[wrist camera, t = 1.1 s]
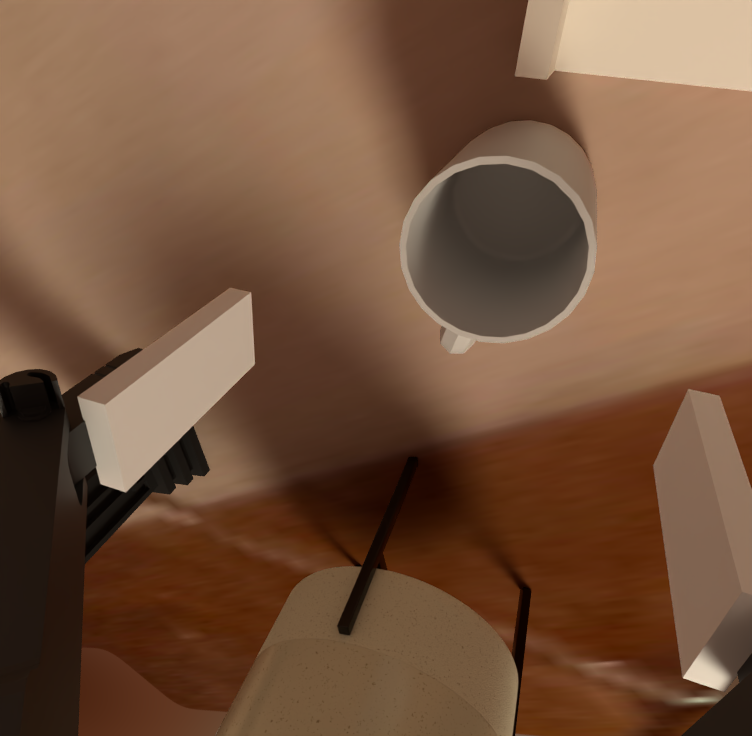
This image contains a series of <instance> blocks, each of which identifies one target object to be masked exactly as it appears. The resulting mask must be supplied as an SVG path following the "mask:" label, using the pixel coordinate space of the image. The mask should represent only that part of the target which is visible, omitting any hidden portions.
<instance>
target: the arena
mask: <svg viewBox="0 0 752 736" xmlns="http://www.w3.org/2000/svg"><path fill="white" fill-rule="evenodd" d="M554 71H563V72H572V73H582V74H591V75H601V76H610V77H620V78H629V79H639V80H648V81H658V82H667V83H677V84H686V85H696V86H705V87H715V88H724V89H734V90H743V91H752V0H528V6H527V11H526V16H525V22H524V27H523V33H522V38H521V44H520V49H519V55H518V60H517V66H516V71H515V76H517V77H526V78H535V79H545V80H547V79H548V78H549V77H550V75H551V74H552V73H553V72H554Z"/></svg>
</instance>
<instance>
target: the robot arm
mask: <svg viewBox="0 0 752 736" xmlns="http://www.w3.org/2000/svg"><path fill="white" fill-rule="evenodd" d="M254 365H255V355H254V336H253V317H252V298H251V292H248V291H244V290H239V289H235V288H229V289H227V290H226V291H225V292H223V293H222V294H220V295H219V296H218V297H216V298H215V299H213V300H212V301H211V302H209V303H208V304H206V305H205V306H204V307H202V308H201V309H199V310H198V311H197V312H195V313H194V314H192V315H191V316H190V317H188V318H187V319H185V320H184V321H183V322H181V323H180V324H178V325H177V326H176V327H174V328H173V329H171V330H170V331H168V332H167V333H166V334H164V335H163V336H161V337H160V338H159V339H157V340H156V341H154V342H153V343H152V344H150V345H149V346H147V347H146V348H145V349H140V348H137V349H134V350H132V351H129V352H126V353H124V354H121V355H119V356H117V357H116V358H115V359H113V360H112V361H110V362H109V363H107V364H106V366H105V367H104V366H103V367H102V368H100V369H99V370H97V371H96V372H95V374H91V375H90V376H88V377H87V378H86V379H84V380H83V381H81V382H80V383H78V384H77V385H75V386H74V387H73V388H71V389H70V390H68V391H67V392H65V393H64V394H62V395H61V392H60V388H59V385H58V381H57V378H56V375H55V374H53V373H52V372H50V371H47V370H42V369H32V370H24V371H20V372H15V373H13V374H11V375H8V376H6V377H4V378H2V379H1V380H0V412H1V413H0V736H78V724H79V697H80V672H81V646H82V620H83V594H84V568H85V542H86V516H87V490H88V486H87V482H86V479H85V476H86V475H87V474H88V473H89V472H91V471H92V470H93V469H94V468H95V467H96V469H97V473H98V477H99V480H100V484H102V485H105V486H108V487H111V488H114V489H117V490H120V491H123V492H127V491H128V490H129V489H130V488H131V487H132V486H133V485H134V484H135V483H136V482H137V481H138V480H139V479H140V478H141V477H142V476H143V475H144V474H145V473H146V472H147V471H148V470H149V469H150V468H151V467H152V466H153V465H154V464H155V463H156V462H157V461H158V460H159V459H160V458H161V457H162V456H163V455H164V454H165V453H166V452H167V451H168V450H169V449H170V448H171V447H172V446H173V445H174V444H175V443H176V442H177V441H178V440H179V439H180V438H181V437H182V436H183V435H184V434H185V433H186V432H187V431H188V430H189V429H190V428H191V427H192V426H193V425H194V424H195V423H196V422H197V421H198V420H199V419H200V418H201V417H202V416H203V415H204V414H205V413H206V412H207V411H208V410H209V409H210V408H211V407H212V406H213V405H214V404H215V403H216V402H217V401H218V400H219V399H220V398H221V397H222V396H223V395H224V394H225V393H226V392H227V391H228V390H229V389H231V388H232V387H233V386H234V385H235V384H236V383H237V382H238V381H239V380H240V379H241V378H242V377H243V376H244V375H245V374H246V373H247V372H248V371H249V370H250V369H251V368H252V367H253V366H254ZM653 466H654V473H655V481H656V488H657V495H658V502H659V510H660V517H661V524H662V531H663V539H664V546H665V553H666V560H667V568H668V575H669V582H670V589H671V597H672V604H673V611H674V619H675V626H676V633H677V640H678V648H679V655H680V662H681V669H682V677H683V678H684V679H687V680H690V681H693V682H696V683H699V684H702V685H705V686H708V687H711V688H714V689H717V690H720V691H724V692H725V691H726V690H727V688H728V687H729V686H730V685H731V683H732V682H733V681H734V679H735V678H736V677H737V676H738V679H739V684H738V685H737V686H736V687H734V688H733V689H732V690H731V691H730V692H729V693H728V694H727V695H726V696H725V697H723V698H722V699H721V700H720V701H719V702H718V703H717V704H716V705H715V706H713V707H712V708H711V709H710V710H709V711H708V712H707V713H706V714H705V715H704V716H702V717H701V718H700V719H699V720H698V721H697V722H696V723H695V724H694V725H693V726H691V727H690V728H689V729H688V730H687V731H686V732H685V733H684V734H683V735H681V736H752V489H751V486H750V483H749V480H748V477H747V474H746V472H745V469H744V466H743V463H742V460H741V457H740V454H739V451H738V448H737V445H736V442H735V440H734V437H733V434H732V431H731V428H730V425H729V422H728V419H727V416H726V413H725V410H724V408H723V405H722V402H721V399H720V396H718V395H713V394H708V393H704V392H699V391H695V390H690V389H688V391H687V393H686V396H685V398H684V400H683V402H682V404H681V406H680V409H679V411H678V413H677V415H676V417H675V420H674V422H673V424H672V426H671V428H670V430H669V433H668V435H667V437H666V439H665V441H664V444H663V446H662V448H661V450H660V452H659V454H658V457H657V459H656V461H655V463H654V465H653Z"/></svg>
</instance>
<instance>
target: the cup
mask: <svg viewBox="0 0 752 736" xmlns="http://www.w3.org/2000/svg"><path fill="white" fill-rule="evenodd" d="M399 246H400V258H401V268H402V271H403V274H404V277H405V280H406V283H407V285H408V288H409V290H410V292H411V293H412V295H413V296H414V298H415V299H416V301H417V302H418V304H419V305H420V307H421V308H422V309H423V310H424V311H425V312H426V313H427V314H428V315H429V316H430V317H431V318H432V319H434V320H435V321H436V322H437V323H438V324H439V325H441V326H442V327H441V330H440V344H441V345H442V346H443V347H444V348H445V349H446V350H447V351H448V352H449V353H465V352H466V351H467V350H468V349H469V348H470V347H471V346H472V345H473V344H474V343H475V341H480V342H492V343H508V342H514V341H520V340H526V339H529V338H532V337H534V336H536V335H539V334H541V333H543V332H546V331H548V330H550V329H552V328H553V327H554V326H555V325H557V324H558V323H559V322H561V321H562V320H563V319H565V318H566V317H567V316H569V315H570V313H571V312H572V311H573V310H574V308H575V307H576V306H577V304H578V303H579V302H580V301H581V299H582V298H583V297H584V295H585V293H586V291H587V288H588V286H589V283H590V281H591V279H592V276H593V274H594V270H595V260H596V250H597V189H596V184H595V178H594V173H593V169H592V166H591V164H590V162H589V160H588V158H587V156H586V154H585V152H584V150H583V149H582V148H581V147H580V146H579V145H578V144H577V143H576V141H575V140H574V139H573V138H572V137H571V136H570V135H569V134H567V133H565V132H563V131H562V130H560V129H558V128H556V127H554V126H553V125H551V124H546V123H542V122H537V121H532V120H524V121H510V122H507V123H504V124H501V125H498V126H495V127H492V128H490V129H488V130H486V131H485V132H484V133H482V134H481V135H479V136H478V137H476V138H475V139H473V140H472V141H470V142H469V143H468V144H467V145H466V146H465V147H464V148H463V149H462V150H461V151H460V152H459V153H458V154H457V155H456V156H455V157H454V158H453V159H452V160H451V161H450V162H449V163H448V164H447V165H446V166H445V167H444V168H443V169H442V170H441V171H440V172H439V173H438V174H436V175H435V176H434V177H433V178H432V179H431V180H430V182H429V183H428V184H427V185H426V186H425V187H424V189H423V190H422V191H421V192H420V193H419V194H418V195H417V197H416V198H415V199H414V201H413V203H412V205H411V207H410V209H409V211H408V213H407V215H406V217H405V219H404V222H403V227H402V233H401V238H400V244H399Z"/></svg>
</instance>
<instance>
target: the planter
mask: <svg viewBox="0 0 752 736" xmlns="http://www.w3.org/2000/svg"><path fill="white" fill-rule="evenodd" d="M417 466H418V460H417V457H409V458H408V460H407V463H406V465H405V467H404V470H403V472H402V474H401V477H400V479H399V481H398V484H397V486H396V488H395V491H394V493H393V495H392V498H391V500H390V503H389V505H388V507H387V510H386V512H385V514H384V517H383V519H382V521H381V524H380V526H379V528H378V531H377V533H376V535H375V538H374V540H373V542H372V545H371V547H370V549H369V552H368V554H367V556H366V559H365V561H364V564H363V566H362V567H361V566H360V565H356V566H348V567H336V568H329V569H325V570H322V571H319V572H316V573H314V574H312V575H309V576H308V577H306V578H304V579H303V580H302V581H301V582H299V583H298V584H297V585H296V586H295V588H294V589H293V590H292V592H291V594H290V596H289V597H288V599H287V601H286V603H285V605H284V607H283V609H282V611H281V612H280V614H279V616H278V618H277V620H276V622H275V624H274V626H273V627H272V629H271V631H270V633H269V635H268V637H267V639H266V641H265V643H264V644H263V646H262V648H261V650H260V652H259V654H258V656H257V658H256V659H255V661H254V663H253V665H252V667H251V669H250V671H249V673H248V675H247V676H246V678H245V680H244V682H243V684H242V686H241V688H240V690H239V692H238V693H237V695H236V697H235V699H234V701H233V703H232V705H231V707H230V708H229V710H228V712H227V714H226V716H225V718H224V720H223V722H222V724H221V726H220V727H219V729H218V731H217V733H216V735H215V736H515V732H516V723H517V714H518V705H519V696H520V687H521V678H522V669H523V660H524V652H525V643H526V634H527V625H528V616H529V607H530V598H531V590H530V589H528V588H526V587H523V588H522V589H521V590H520V596H519V604H518V611H517V619H516V627H515V634H514V642H513V649H512V655H511V653H510V651H509V649H508V648H507V646H506V644H505V643H504V641H503V640H502V639H501V637H500V636H499V635H498V634H497V633H496V631H495V630H494V629H493V628H492V627H491V626H490V625H489V624H488V623H487V622H486V621H485V620H484V619H483V618H482V617H480V616H479V615H478V614H477V613H476V612H474V611H473V610H472V609H471V608H469V607H468V606H466V605H465V604H463V603H462V602H461V601H459V600H457V599H456V598H454V597H453V596H451V595H449V594H447V593H445V592H444V591H442V590H440V589H438V588H436V587H434V586H432V585H429V584H427V583H425V582H422V581H420V580H417V579H415V578H412V577H409V576H406V575H403V574H399V573H396V572H392V571H387V567H386V563H385V559H384V555H383V551H384V549H385V546H386V544H387V541H388V539H389V536H390V534H391V531H392V529H393V526H394V524H395V521H396V519H397V516H398V514H399V511H400V509H401V506H402V504H403V501H404V499H405V496H406V494H407V491H408V489H409V486H410V483H411V481H412V478H413V476H414V473H415V471H416V468H417Z"/></svg>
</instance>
